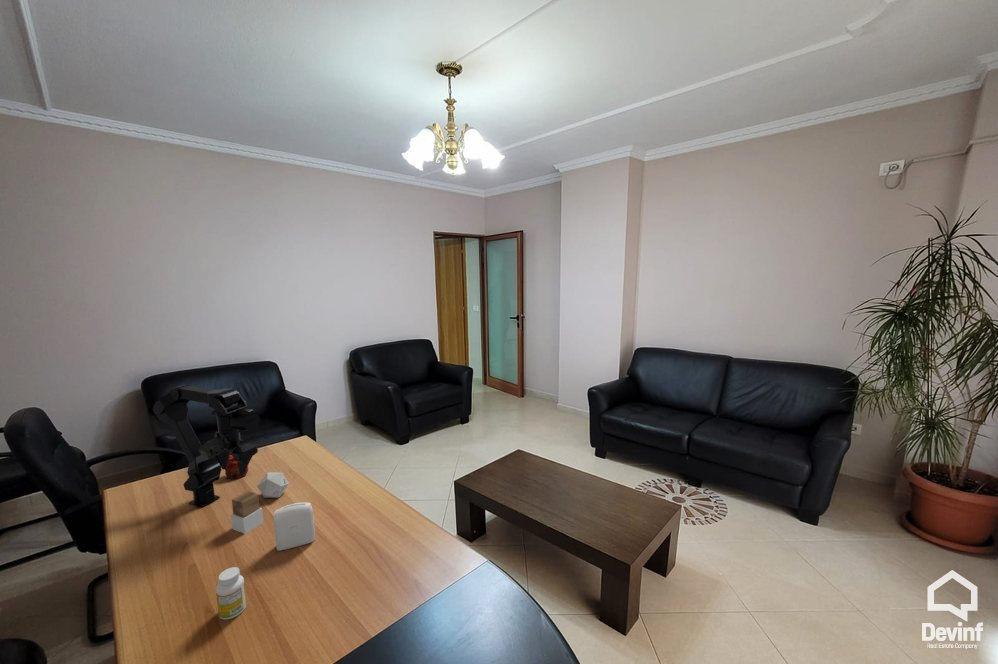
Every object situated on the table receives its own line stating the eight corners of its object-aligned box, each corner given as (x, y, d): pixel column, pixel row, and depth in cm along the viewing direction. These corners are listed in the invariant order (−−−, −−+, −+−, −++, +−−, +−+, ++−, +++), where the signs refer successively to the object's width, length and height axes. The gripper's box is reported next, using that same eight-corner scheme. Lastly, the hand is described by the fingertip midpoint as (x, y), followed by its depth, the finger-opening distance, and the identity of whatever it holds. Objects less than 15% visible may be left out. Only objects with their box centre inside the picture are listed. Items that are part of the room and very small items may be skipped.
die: (267, 507, 130) (285, 481, 132) (246, 493, 131) (265, 467, 133) (280, 502, 139) (298, 477, 140) (261, 488, 139) (278, 464, 141)
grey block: (232, 529, 118) (230, 514, 117) (251, 518, 124) (249, 503, 123) (245, 534, 116) (243, 519, 115) (263, 522, 121) (262, 508, 121)
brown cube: (233, 514, 118) (231, 499, 117) (249, 505, 122) (247, 490, 121) (244, 517, 116) (242, 502, 115) (259, 508, 120) (258, 494, 120)
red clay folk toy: (223, 481, 145) (219, 444, 143) (228, 473, 152) (224, 437, 149) (247, 477, 148) (243, 441, 146) (250, 469, 155) (247, 434, 152)
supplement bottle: (228, 601, 92) (224, 565, 90) (251, 599, 92) (247, 564, 91) (213, 621, 86) (208, 583, 85) (238, 619, 87) (234, 581, 86)
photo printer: (274, 553, 108) (271, 513, 106) (276, 543, 112) (273, 505, 110) (315, 543, 112) (312, 504, 110) (315, 534, 116) (312, 497, 114)
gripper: (183, 432, 121) (189, 477, 123) (221, 441, 114) (226, 489, 116) (220, 420, 131) (224, 462, 134) (256, 428, 124) (261, 472, 127)
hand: (233, 471), depth 127 cm, fingers open, 9 cm apart
